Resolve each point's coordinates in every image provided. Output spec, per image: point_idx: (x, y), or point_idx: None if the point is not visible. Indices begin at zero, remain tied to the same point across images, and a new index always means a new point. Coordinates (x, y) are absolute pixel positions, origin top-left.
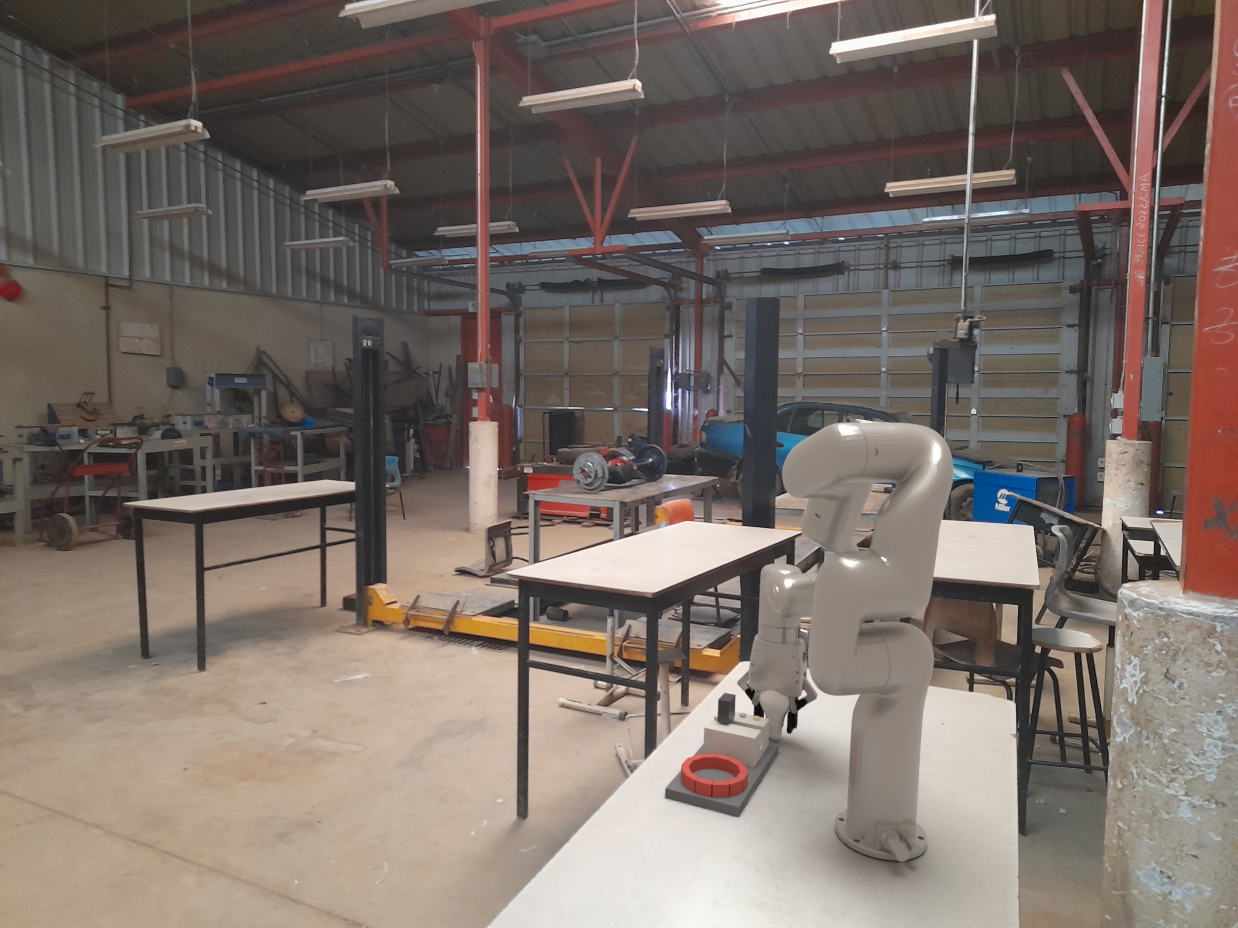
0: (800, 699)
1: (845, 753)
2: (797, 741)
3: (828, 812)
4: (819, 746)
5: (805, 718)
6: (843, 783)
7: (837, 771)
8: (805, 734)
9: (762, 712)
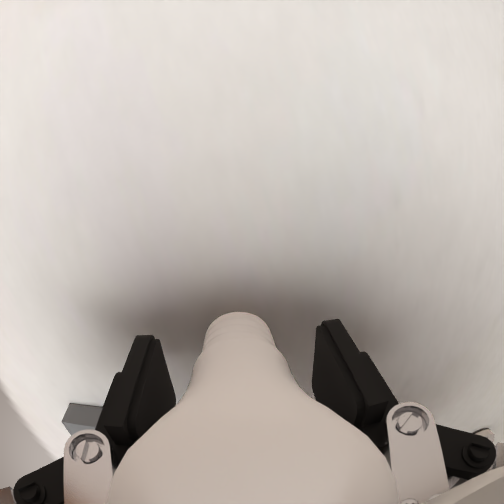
0: (447, 472)
1: (477, 280)
2: (334, 289)
3: None
4: (415, 281)
5: (300, 5)
6: (441, 413)
7: (442, 385)
8: (354, 195)
9: (157, 414)
